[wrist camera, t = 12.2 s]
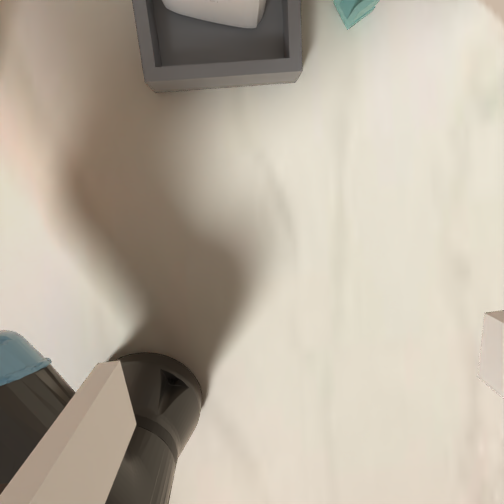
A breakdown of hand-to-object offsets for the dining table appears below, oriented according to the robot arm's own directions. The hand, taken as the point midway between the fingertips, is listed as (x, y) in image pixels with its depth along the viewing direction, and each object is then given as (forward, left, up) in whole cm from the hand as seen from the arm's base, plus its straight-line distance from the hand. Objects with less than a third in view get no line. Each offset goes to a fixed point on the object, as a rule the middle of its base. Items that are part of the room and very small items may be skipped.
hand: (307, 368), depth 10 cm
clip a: (+12, +23, -26) cm, 37 cm away
